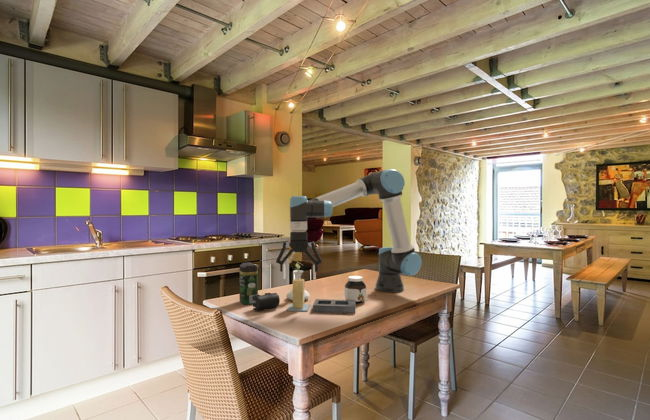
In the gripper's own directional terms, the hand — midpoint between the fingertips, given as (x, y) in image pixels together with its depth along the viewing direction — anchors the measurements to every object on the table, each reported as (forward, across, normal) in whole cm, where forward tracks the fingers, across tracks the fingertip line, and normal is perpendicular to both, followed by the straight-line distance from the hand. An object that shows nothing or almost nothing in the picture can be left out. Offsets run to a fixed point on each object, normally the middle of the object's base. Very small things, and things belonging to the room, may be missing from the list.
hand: (299, 279), depth 154 cm
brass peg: (+12, 0, 0) cm, 12 cm away
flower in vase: (+13, -3, +14) cm, 19 cm away
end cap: (+13, -14, -3) cm, 20 cm away
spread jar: (+14, +25, +16) cm, 32 cm away
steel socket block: (+13, +16, 0) cm, 20 cm away
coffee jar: (+13, -25, +7) cm, 29 cm away
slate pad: (+13, 0, 0) cm, 13 cm away
